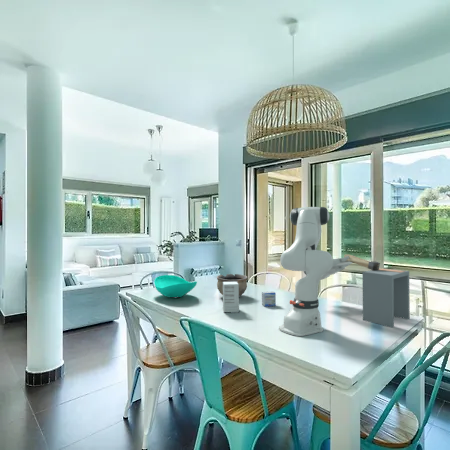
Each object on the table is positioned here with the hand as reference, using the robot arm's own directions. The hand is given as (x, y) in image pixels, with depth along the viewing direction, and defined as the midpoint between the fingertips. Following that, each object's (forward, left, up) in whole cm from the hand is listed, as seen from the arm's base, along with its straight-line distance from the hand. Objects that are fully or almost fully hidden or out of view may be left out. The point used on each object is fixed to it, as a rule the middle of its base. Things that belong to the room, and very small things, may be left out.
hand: (351, 256), depth 184 cm
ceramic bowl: (-36, +71, -32) cm, 86 cm away
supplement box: (-59, +45, -32) cm, 81 cm away
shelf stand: (-5, -22, -32) cm, 39 cm away
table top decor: (-67, +97, -32) cm, 123 cm away
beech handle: (-2, -6, -4) cm, 8 cm away
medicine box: (-33, +38, -32) cm, 60 cm away
